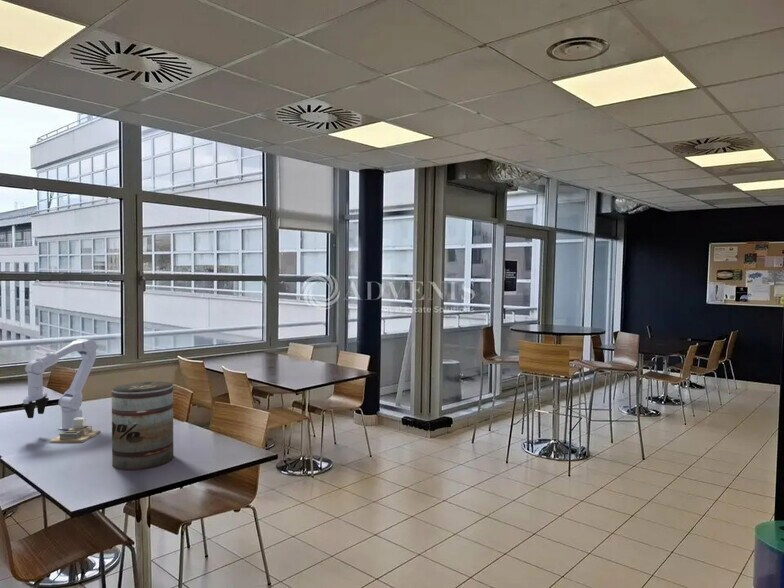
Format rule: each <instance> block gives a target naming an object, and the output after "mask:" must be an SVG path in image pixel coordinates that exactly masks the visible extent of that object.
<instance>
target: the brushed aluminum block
mask: <svg viewBox="0 0 784 588" xmlns="http://www.w3.org/2000/svg"><path fill="white" fill-rule="evenodd" d="M86 420H87V419H86V416H82V417H77V418H75V419H73V430H82V429H85V428H86V426H87V424H86Z"/></svg>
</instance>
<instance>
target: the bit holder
mask: <svg viewBox="0 0 784 588" xmlns="http://www.w3.org/2000/svg"><path fill="white" fill-rule="evenodd" d="M98 434H101V430H93V426H92V425H86V428H85V429H82V430H73V428H71V429H67V431H62V432H61V433H59V436H56V437H55V438H52V439H50V440H49V443H50V444H53V443H54V444H55V443H57V444H59V443H60V444H61V443H62V444H63V443H66V444H69V443H71V444H72V443H83V442H86V441H87V440H89V439H91V438H93V437H95V436H98Z"/></svg>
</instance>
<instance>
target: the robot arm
mask: <svg viewBox="0 0 784 588" xmlns="http://www.w3.org/2000/svg"><path fill="white" fill-rule="evenodd" d="M97 349H98V345H97V343H96V341H95V340H93V339H85V338H84V339H83V338H77V339H76V340H73V341H71V342H70V343H69V344H67V345H66V346H64V347H62V348H61V349H59V350H57V351H56V352H53V351H52V352H48V351H47V352H45V355H42V356H41V357H37V358H35V360H30V361H29V362H27V364H26V365H25V367H24V371H25V372H26V373H27V395H26V396H25V398H24V399H23V400H22V403H21V407H22V408H23V409H24V411H25V414H26V416H27V418H28V419H33V418H34V415H35V409H37V414H38V415H44V413H45V409H46V407H47V404H48V402H49V400H50V398H49V397H48V392H44V391H43V389H44V386H43V385H44V383H43V382H44V381H43V380H44V379H43V374H44V372H45V371H46V369H48V368H50V367H51V366H53V365H55V364H57V363H58V362H59V359H62V358H63V357H65V356H67V355H69V354H72V353H74V352H77V353H78V354H79V355H80V357H81V358H82V360H81V363H80V364H79V367H78V368H77V371H76V373H75V376H74V378H73V380H72V381H71V384H70V385H69V386H70V387H69V388H68V389H67V390H66V391H64V393H63V395H61V396H60V398H59V399H58V406H59V407H60V409H61V426H60V427H58V428H57V430H69V429H71V428H73V419H75V418H77V417H83V410H82V409H81V408H80V407H81V406H82V403H83V401H82V400H83V397H84V396H83V393H82V391H83V388H84V386H85V384H86V381H87V380H88V377H89V375H90V373H91V370H92V369H93V366H94V363H95V361H96V358H97ZM34 402H35V403H34ZM36 407H37V408H36Z"/></svg>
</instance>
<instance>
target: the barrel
mask: <svg viewBox="0 0 784 588" xmlns="http://www.w3.org/2000/svg"><path fill="white" fill-rule="evenodd" d="M111 448H112V449H111V452H112V454H111V458H112V461H111V463H112V464H111V465H112V467H113V468H114V469H117V470H121V471H142V470H148V469H153V468H157V467H162V466H164V465H166V464H168V463H170V462H171V461H172V460H174V385H173V383H172V382H169V381H168V382H167V381H155V380H154V381H138V382H130V383H123V384H120V385H116V386H113V387H112V388H111Z"/></svg>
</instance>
